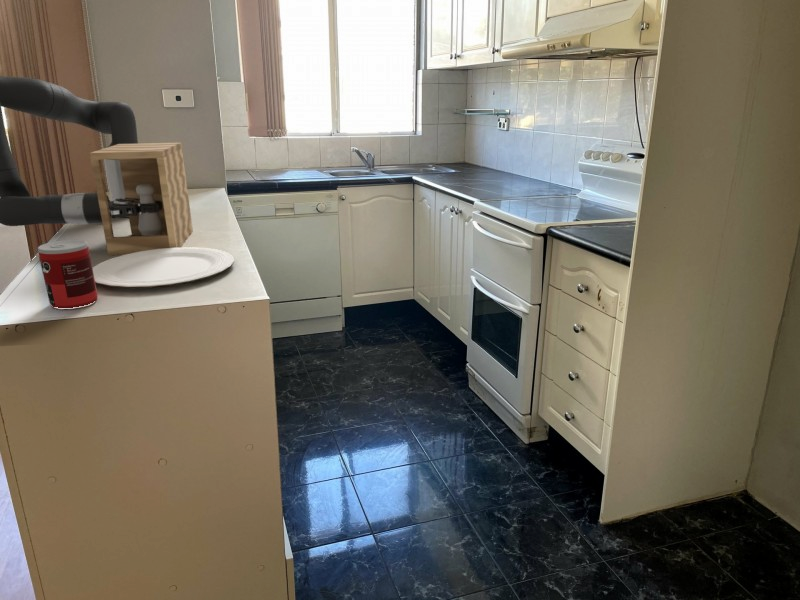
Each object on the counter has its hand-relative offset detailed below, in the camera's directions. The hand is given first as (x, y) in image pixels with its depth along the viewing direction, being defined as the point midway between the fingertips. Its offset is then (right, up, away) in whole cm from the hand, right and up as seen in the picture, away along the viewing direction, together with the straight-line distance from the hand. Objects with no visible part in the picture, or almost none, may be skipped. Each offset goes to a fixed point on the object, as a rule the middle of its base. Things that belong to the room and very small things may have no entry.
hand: (159, 206), depth 149 cm
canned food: (0, -24, -40) cm, 46 cm away
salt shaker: (-3, -7, +2) cm, 8 cm away
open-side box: (-2, -9, +3) cm, 9 cm away
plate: (+10, -18, -21) cm, 29 cm away
